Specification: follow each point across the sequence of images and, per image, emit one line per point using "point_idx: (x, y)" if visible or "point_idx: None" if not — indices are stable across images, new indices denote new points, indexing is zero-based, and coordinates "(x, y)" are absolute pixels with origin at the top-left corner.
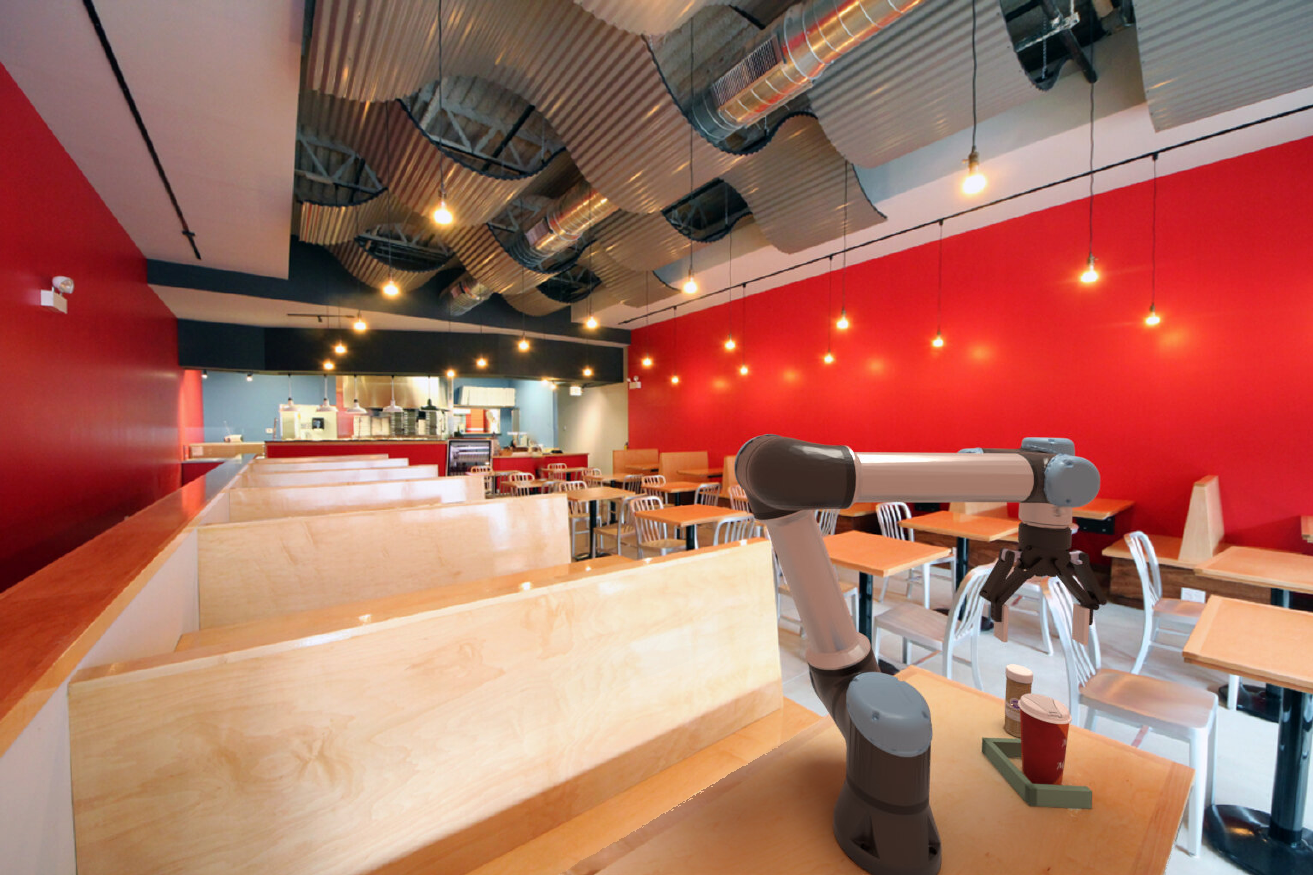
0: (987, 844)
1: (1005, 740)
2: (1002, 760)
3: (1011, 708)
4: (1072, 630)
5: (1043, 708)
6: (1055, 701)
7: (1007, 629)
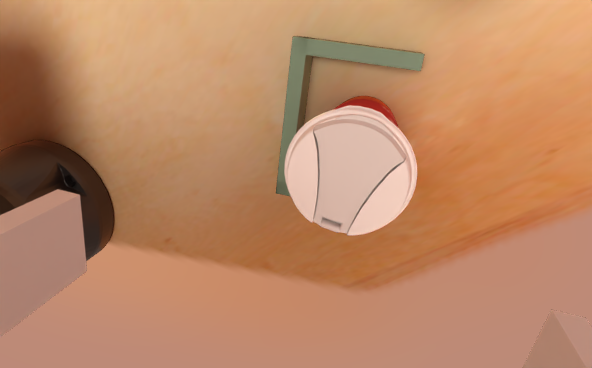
0: (176, 228)
1: (342, 52)
2: (285, 114)
3: None
4: (581, 358)
5: (319, 202)
6: (395, 175)
7: (20, 319)
